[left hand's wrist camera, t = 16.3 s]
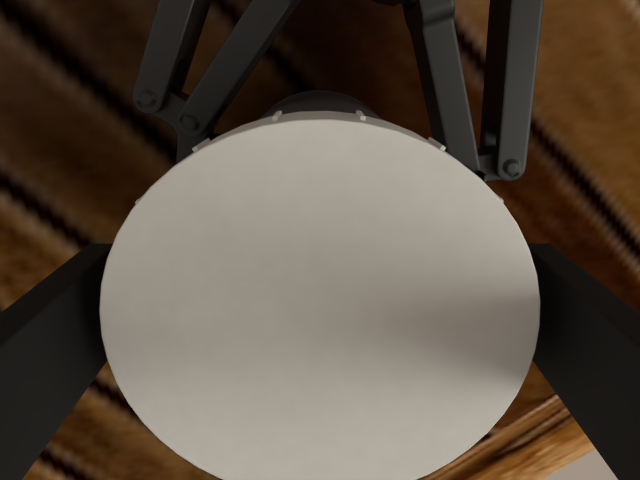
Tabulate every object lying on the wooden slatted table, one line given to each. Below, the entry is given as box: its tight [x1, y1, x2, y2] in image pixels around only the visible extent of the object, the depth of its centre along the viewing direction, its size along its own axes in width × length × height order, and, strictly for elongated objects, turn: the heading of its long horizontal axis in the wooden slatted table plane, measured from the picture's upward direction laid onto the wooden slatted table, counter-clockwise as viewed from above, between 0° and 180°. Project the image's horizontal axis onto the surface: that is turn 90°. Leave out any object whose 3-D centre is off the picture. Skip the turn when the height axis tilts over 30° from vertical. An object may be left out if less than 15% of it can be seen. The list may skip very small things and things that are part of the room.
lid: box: [99, 110, 540, 480], centre depth 11 cm, size 10×10×2 cm
